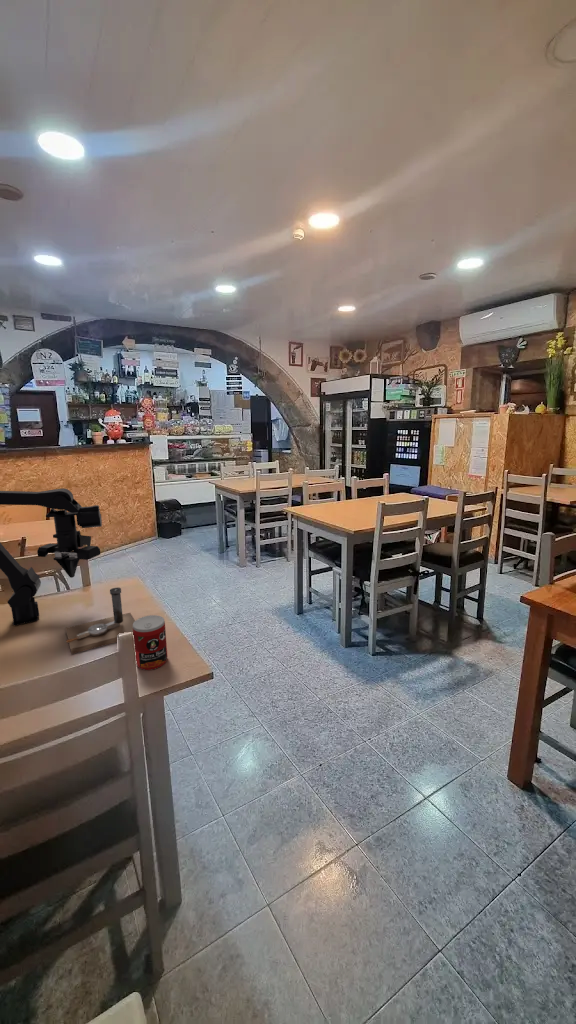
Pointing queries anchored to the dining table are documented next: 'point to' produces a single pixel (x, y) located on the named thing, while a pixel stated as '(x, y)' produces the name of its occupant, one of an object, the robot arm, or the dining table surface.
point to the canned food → (150, 642)
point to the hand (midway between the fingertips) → (72, 577)
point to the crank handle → (118, 619)
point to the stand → (100, 640)
